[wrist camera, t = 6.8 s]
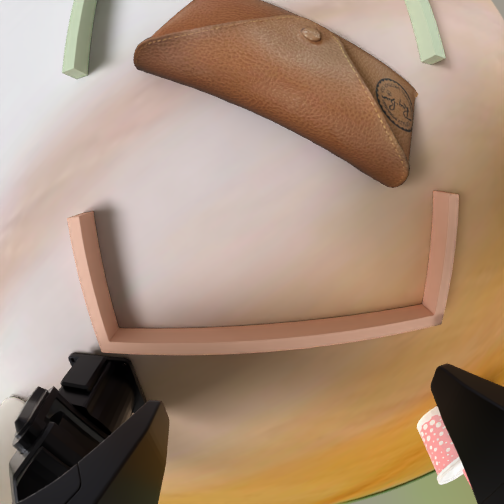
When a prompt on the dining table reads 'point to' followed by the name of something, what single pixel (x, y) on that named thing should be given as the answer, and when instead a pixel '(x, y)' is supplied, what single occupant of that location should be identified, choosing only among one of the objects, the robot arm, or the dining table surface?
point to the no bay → (265, 334)
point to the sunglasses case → (290, 79)
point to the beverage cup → (440, 447)
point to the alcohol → (7, 443)
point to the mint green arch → (85, 11)
